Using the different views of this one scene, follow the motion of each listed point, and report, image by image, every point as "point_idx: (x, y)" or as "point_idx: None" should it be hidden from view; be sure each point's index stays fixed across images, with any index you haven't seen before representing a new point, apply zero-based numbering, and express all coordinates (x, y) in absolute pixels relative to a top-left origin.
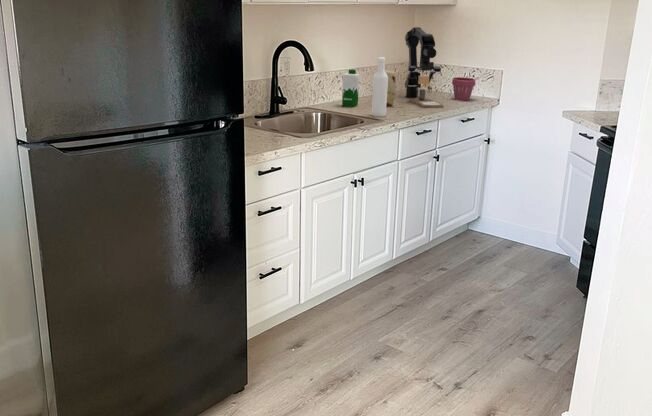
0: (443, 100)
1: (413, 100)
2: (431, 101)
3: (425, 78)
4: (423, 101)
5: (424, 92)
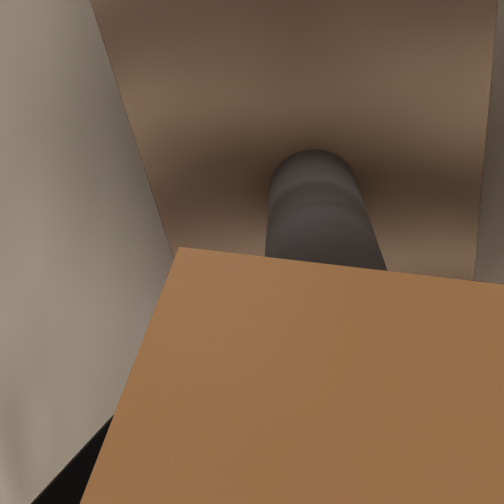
0: (5, 334)
1: (477, 137)
2: (170, 60)
3: (360, 481)
4: (323, 43)
5: (288, 217)
